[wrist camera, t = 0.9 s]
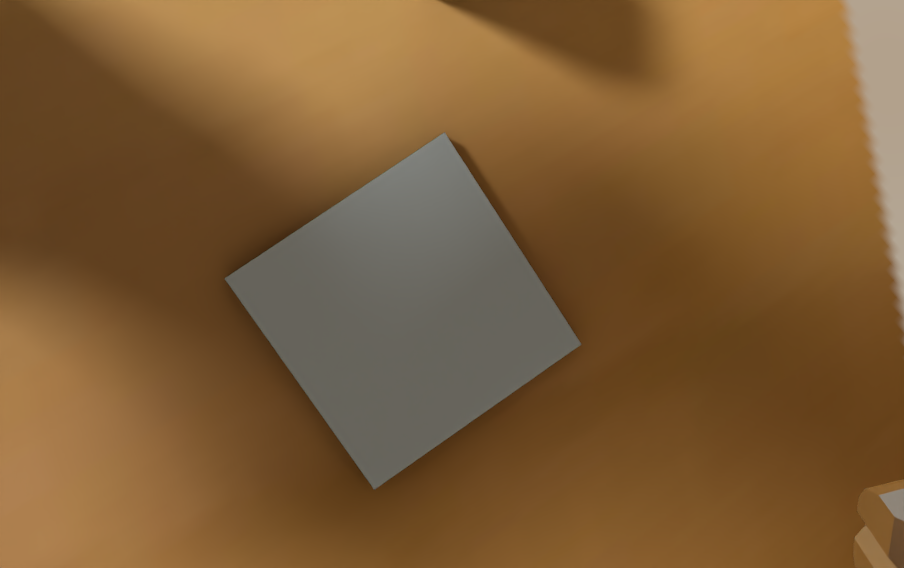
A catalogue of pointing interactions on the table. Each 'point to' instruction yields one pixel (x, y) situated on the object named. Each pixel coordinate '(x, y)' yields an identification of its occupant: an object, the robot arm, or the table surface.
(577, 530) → the table surface
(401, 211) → the slate mat
